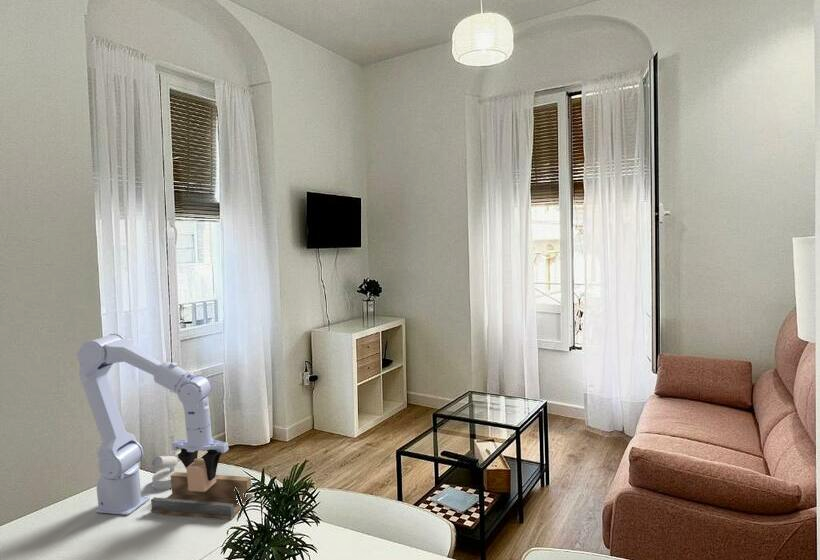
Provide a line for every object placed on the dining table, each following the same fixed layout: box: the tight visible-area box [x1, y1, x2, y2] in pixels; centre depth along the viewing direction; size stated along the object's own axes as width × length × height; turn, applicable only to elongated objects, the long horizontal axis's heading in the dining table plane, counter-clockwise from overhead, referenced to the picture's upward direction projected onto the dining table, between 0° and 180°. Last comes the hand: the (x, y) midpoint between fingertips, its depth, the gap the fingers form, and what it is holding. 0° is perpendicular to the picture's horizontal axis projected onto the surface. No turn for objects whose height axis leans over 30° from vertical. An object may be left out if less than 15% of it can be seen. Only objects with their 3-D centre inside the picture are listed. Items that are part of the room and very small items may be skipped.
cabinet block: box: [185, 457, 217, 492], centre depth 128 cm, size 4×5×7 cm
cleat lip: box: [150, 496, 234, 516], centre depth 126 cm, size 22×1×2 cm, turn 78°
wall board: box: [150, 472, 253, 521], centre depth 130 cm, size 22×10×6 cm, turn 78°
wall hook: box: [151, 455, 187, 491], centre depth 143 cm, size 9×10×10 cm
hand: (202, 478), depth 129 cm, fingers closed on cabinet block, 4 cm apart
